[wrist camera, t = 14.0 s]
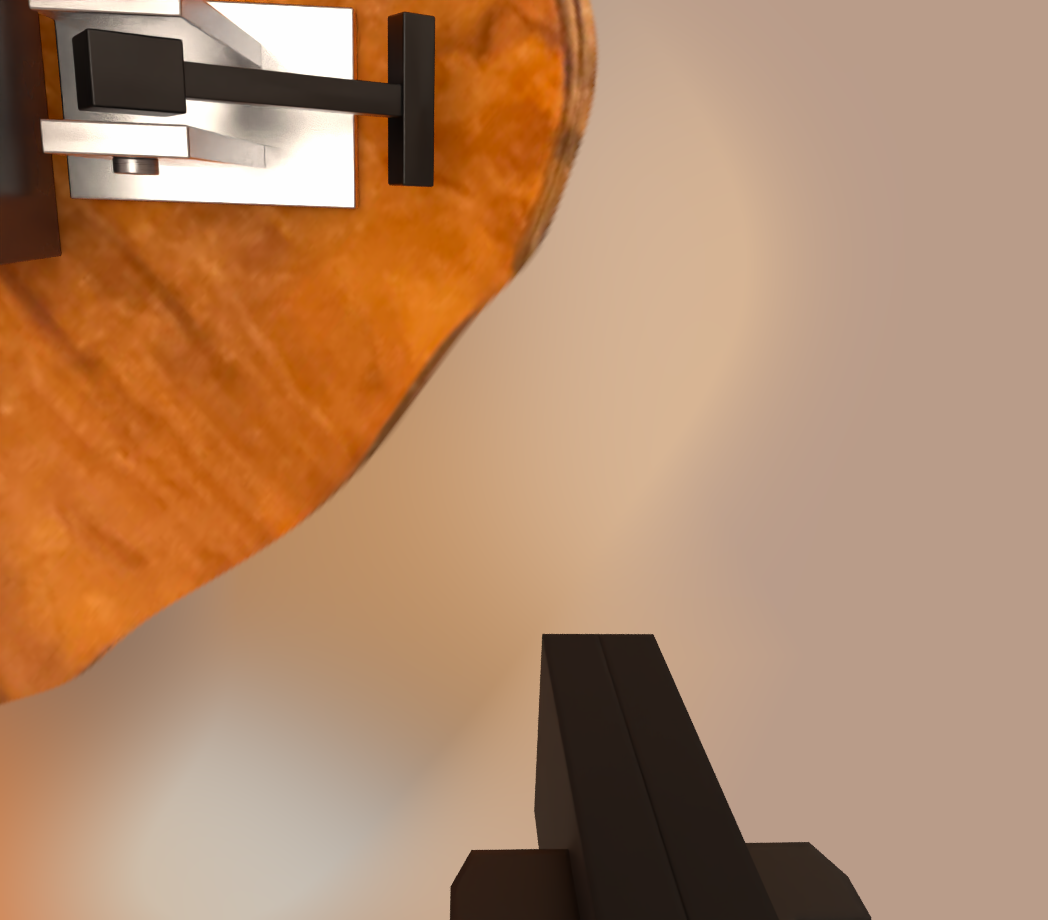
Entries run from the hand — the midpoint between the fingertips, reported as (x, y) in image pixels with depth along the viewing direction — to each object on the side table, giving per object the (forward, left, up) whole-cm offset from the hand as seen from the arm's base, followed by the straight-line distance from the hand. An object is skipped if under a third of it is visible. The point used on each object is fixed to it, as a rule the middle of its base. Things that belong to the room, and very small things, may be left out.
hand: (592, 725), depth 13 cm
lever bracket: (+16, -1, -32) cm, 36 cm away
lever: (+13, -3, -25) cm, 28 cm away
